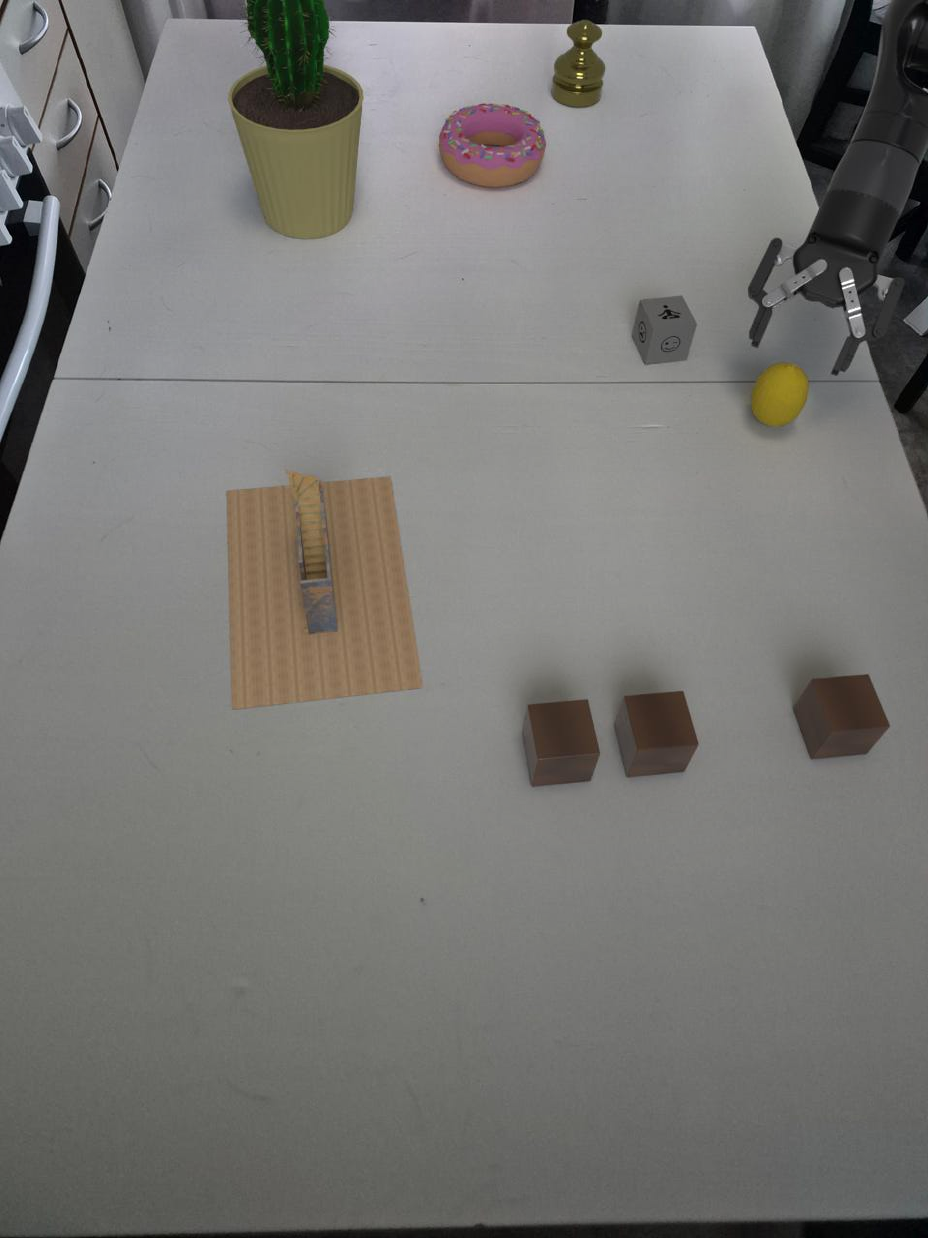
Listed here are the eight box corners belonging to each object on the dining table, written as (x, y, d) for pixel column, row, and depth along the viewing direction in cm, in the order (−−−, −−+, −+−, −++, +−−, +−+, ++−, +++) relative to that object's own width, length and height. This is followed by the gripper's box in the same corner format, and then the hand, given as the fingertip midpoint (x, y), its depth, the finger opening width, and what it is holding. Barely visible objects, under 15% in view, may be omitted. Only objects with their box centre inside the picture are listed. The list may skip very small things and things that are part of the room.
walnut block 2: (670, 717, 83) (683, 688, 79) (684, 772, 80) (699, 744, 76) (613, 723, 83) (623, 693, 79) (626, 777, 80) (637, 750, 76)
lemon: (782, 403, 106) (806, 345, 100) (801, 439, 103) (827, 381, 97) (735, 407, 105) (756, 349, 99) (752, 444, 102) (775, 386, 96)
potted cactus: (381, 186, 127) (371, -79, 102) (352, 256, 118) (335, -15, 93) (267, 170, 128) (230, -96, 103) (231, 239, 119) (181, -34, 94)
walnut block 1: (579, 726, 82) (587, 697, 78) (591, 781, 79) (600, 754, 75) (521, 731, 82) (527, 702, 78) (531, 787, 79) (537, 760, 75)
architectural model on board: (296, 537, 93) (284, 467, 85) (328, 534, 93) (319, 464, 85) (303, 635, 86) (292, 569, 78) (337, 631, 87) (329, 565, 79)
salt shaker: (540, 93, 142) (548, 19, 134) (575, 77, 145) (584, 4, 137) (576, 113, 139) (586, 40, 131) (611, 97, 142) (623, 24, 134)
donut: (451, 197, 126) (453, 160, 122) (428, 139, 134) (428, 102, 130) (556, 186, 128) (561, 150, 124) (527, 129, 136) (531, 93, 132)
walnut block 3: (846, 701, 85) (868, 672, 81) (867, 754, 82) (890, 726, 78) (791, 706, 84) (811, 677, 80) (810, 759, 81) (831, 732, 77)
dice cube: (644, 364, 109) (653, 328, 105) (631, 335, 112) (639, 299, 108) (686, 359, 110) (697, 323, 106) (672, 331, 112) (682, 295, 108)
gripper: (795, 168, 94) (727, 331, 97) (941, 212, 91) (865, 379, 94) (792, 192, 101) (729, 343, 105) (928, 234, 98) (858, 388, 101)
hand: (794, 359), depth 99 cm, fingers open, 8 cm apart
